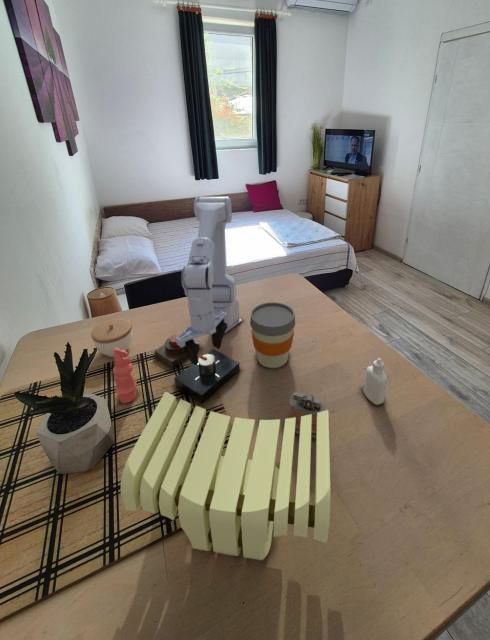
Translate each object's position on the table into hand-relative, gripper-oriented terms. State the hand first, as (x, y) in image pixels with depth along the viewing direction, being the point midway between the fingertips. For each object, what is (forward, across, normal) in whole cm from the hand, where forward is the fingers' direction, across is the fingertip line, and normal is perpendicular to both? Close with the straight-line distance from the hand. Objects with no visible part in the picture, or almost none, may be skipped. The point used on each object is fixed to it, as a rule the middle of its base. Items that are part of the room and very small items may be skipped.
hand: (205, 354), depth 84 cm
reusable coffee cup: (+8, +17, -8) cm, 21 cm away
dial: (+5, 0, 0) cm, 5 cm away
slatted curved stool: (+8, -18, -28) cm, 34 cm away
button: (+5, +1, +15) cm, 16 cm away
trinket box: (+8, -10, +30) cm, 33 cm away
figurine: (+8, -17, +11) cm, 22 cm away
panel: (+8, 0, 0) cm, 8 cm away
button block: (+8, +1, +15) cm, 17 cm away
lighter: (+8, +3, -29) cm, 30 cm away
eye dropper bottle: (+8, +22, -37) cm, 44 cm away
